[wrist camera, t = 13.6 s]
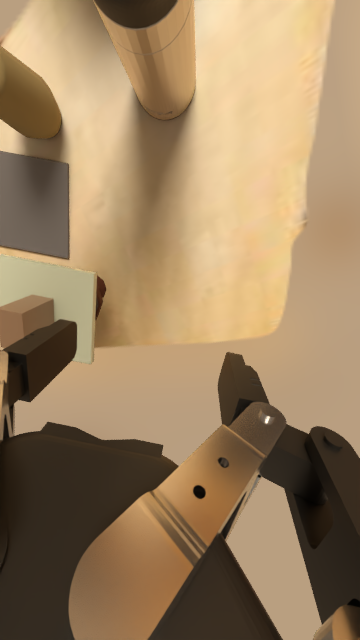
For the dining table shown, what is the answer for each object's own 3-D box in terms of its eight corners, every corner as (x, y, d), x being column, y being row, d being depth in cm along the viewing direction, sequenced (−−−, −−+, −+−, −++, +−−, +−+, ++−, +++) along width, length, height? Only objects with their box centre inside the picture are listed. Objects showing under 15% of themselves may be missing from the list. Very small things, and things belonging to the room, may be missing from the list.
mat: (-22, 147, 39) (-24, 146, 39) (68, 164, 39) (67, 163, 39) (-10, 243, 45) (-11, 243, 45) (69, 258, 45) (68, 258, 45)
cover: (-6, 252, 30) (-62, 258, 24) (97, 272, 30) (69, 284, 24) (6, 343, 36) (-37, 369, 29) (93, 360, 36) (70, 390, 29)
